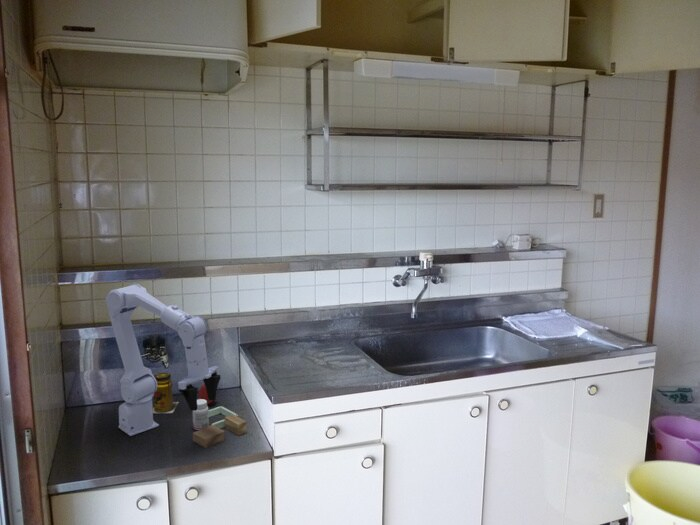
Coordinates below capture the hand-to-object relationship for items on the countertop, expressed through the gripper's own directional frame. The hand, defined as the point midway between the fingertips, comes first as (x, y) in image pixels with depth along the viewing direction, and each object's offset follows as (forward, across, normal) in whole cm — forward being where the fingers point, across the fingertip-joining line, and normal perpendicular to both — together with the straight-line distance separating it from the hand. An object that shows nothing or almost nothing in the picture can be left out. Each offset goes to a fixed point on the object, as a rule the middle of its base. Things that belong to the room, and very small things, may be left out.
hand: (203, 404), depth 171 cm
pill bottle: (+11, +7, +10) cm, 17 cm away
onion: (+10, +21, +20) cm, 31 cm away
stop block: (+12, +12, 0) cm, 17 cm away
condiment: (+9, +11, +29) cm, 33 cm away
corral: (+11, +13, +8) cm, 19 cm away
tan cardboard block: (+12, +2, +2) cm, 13 cm away
